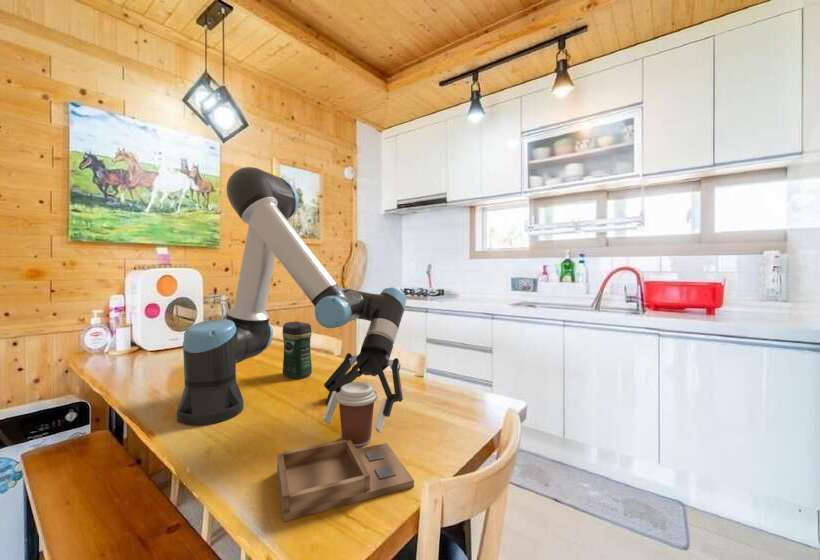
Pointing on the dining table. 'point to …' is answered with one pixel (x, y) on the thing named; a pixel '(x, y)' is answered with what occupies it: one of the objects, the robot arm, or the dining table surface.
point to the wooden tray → (336, 476)
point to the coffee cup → (356, 412)
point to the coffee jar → (297, 350)
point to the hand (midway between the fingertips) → (351, 425)
